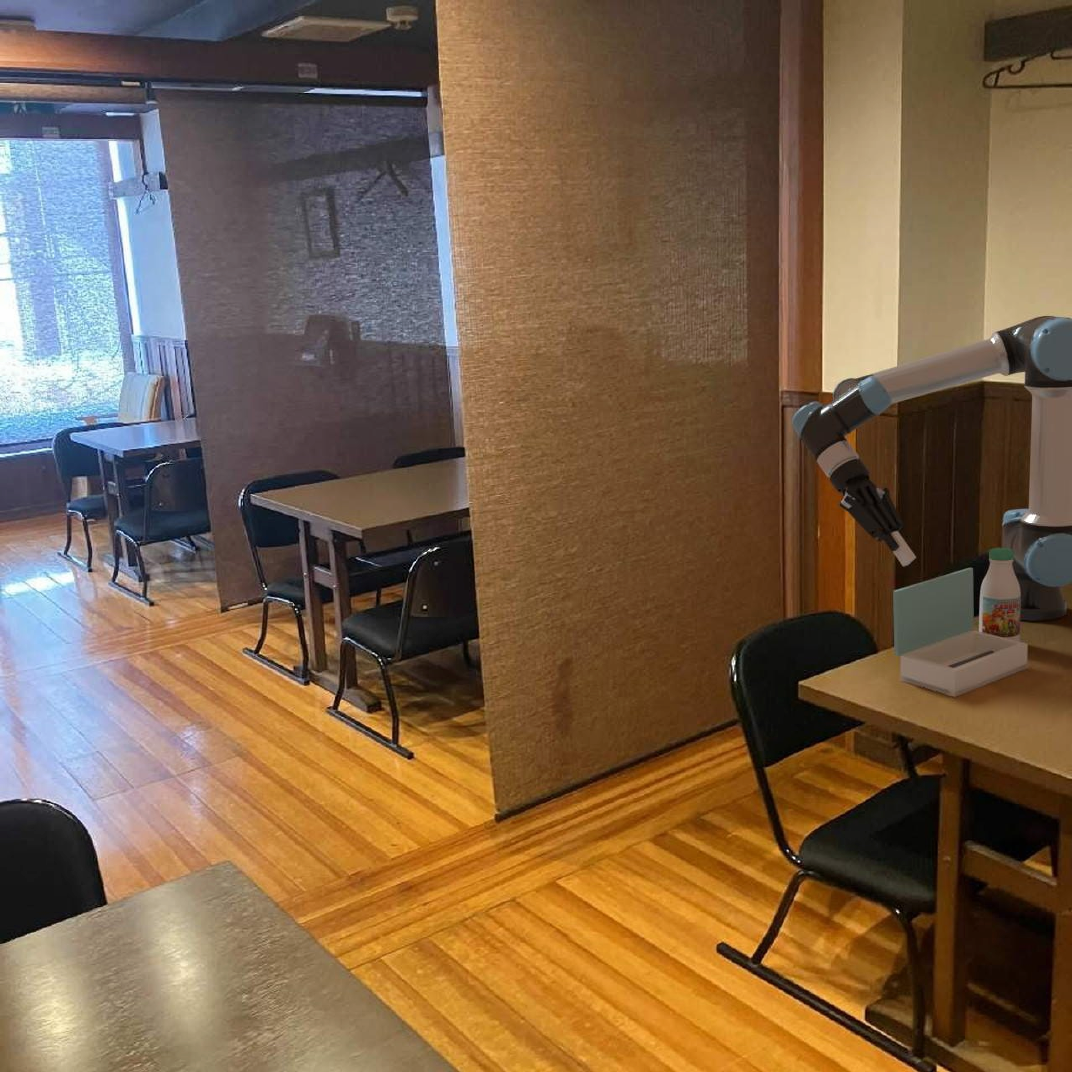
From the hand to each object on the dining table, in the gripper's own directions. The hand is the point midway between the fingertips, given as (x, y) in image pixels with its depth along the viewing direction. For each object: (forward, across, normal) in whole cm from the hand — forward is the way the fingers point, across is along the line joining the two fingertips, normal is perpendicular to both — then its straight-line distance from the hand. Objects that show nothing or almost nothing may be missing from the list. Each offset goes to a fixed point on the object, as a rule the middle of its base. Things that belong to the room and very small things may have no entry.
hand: (909, 561), depth 225 cm
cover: (+11, -1, -2) cm, 11 cm away
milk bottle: (+19, -20, -9) cm, 29 cm away
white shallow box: (+23, -1, -5) cm, 24 cm away
